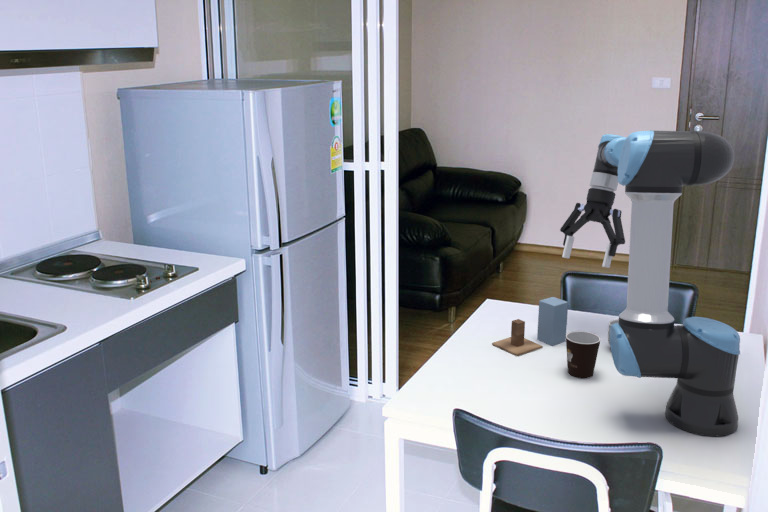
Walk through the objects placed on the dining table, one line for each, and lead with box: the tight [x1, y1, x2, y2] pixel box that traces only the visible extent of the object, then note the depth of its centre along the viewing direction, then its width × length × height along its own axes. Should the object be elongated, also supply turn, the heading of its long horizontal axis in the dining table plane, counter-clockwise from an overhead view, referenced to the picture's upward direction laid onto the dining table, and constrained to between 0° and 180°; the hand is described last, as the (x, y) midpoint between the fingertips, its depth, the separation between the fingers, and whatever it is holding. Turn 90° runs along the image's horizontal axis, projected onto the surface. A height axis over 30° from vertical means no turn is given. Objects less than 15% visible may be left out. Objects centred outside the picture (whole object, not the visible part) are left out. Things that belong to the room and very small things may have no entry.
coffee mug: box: [565, 330, 601, 380], centre depth 187 cm, size 12×9×10 cm
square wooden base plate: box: [491, 318, 544, 357], centre depth 203 cm, size 10×10×8 cm
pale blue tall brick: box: [536, 296, 569, 347], centre depth 206 cm, size 6×6×12 cm
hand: (585, 262), depth 206 cm, fingers open, 13 cm apart
